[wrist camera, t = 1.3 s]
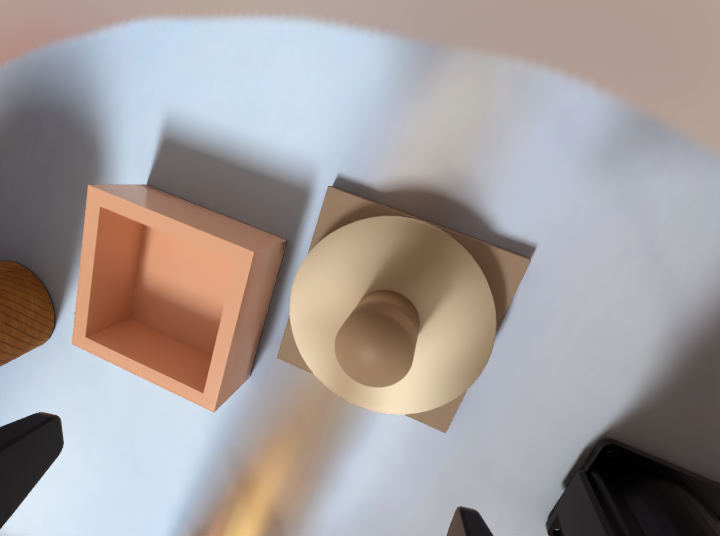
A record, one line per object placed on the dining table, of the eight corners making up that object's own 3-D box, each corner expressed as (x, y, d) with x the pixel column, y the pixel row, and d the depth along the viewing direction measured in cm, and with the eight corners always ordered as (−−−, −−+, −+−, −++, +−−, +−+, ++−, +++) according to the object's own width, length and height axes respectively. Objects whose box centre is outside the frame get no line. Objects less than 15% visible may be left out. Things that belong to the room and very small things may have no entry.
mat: (528, 257, 17) (530, 260, 16) (445, 425, 20) (445, 433, 19) (331, 186, 18) (328, 186, 18) (281, 353, 21) (276, 357, 20)
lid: (531, 260, 16) (558, 285, 12) (445, 432, 19) (445, 498, 15) (328, 186, 18) (293, 187, 14) (277, 357, 20) (235, 399, 17)
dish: (287, 240, 19) (254, 252, 16) (249, 377, 22) (213, 412, 19) (145, 184, 21) (88, 184, 17) (125, 320, 23) (71, 343, 20)
